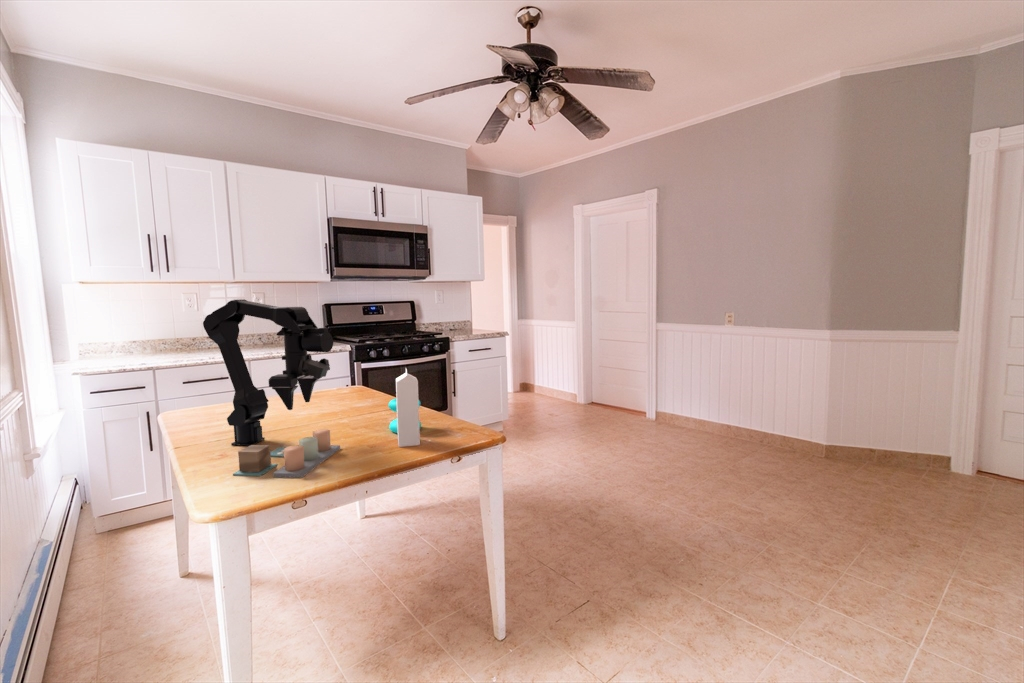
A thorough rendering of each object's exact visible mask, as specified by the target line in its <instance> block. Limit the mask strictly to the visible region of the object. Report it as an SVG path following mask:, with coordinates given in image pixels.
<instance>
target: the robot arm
mask: <svg viewBox="0 0 1024 683" xmlns="http://www.w3.org/2000/svg"><path fill="white" fill-rule="evenodd" d="M246 316H248V317H254V318H257V319H258V318H259V319H263V320H267V321H268V320H269V321H271V322H273V323H274V324H275V325H278V326H280V327H281V329H280V330H279V331H278V332H277V333H276V336H279V337H281V336H283V343H284V344H283V345H284V355H281V360H282V361H285V370H282V374H276V375H272V376H270V377H269V379H268V387H269V388H271V389H272V390H274V391H275V392H276V394H277V395H278V397H279V398H280V399H281V401H282V403H283V404H284V406H285V407H286V409H287V410H288V411H292V410H293V409H294V408H293V407H294V394H295V390H296V389H297V388H298V387H299V388H300V391H301V394H302V397H303V400H304V402H305V403H310V402H311V399H312V398H311V397H312V393H313V391H314V387H315V383H317V382H318V381H319V380H320V379H321V378H323V377H324V378H325V377H326V376H327V374H328V371H330V370H331V366H330V361H329V359H327V358H321V359H319V360H313V359H312V355H311V354H310V353H329V352H330V351H332V349H333V347H334V338H333V335H332V334H331V333H330V332H329V329H328V328H329V327H318V326H317V324H316V323H315V322H314V320H313V319H312V318H311V316H310V314H309V312H308V310H307V308H306V307H303V306H276V305H275V306H274V305H271V304H266V303H260V302H255V301H250V300H247V299H231V300H230V301H228V302H227V303H226V304H225V305H223V306H221V307H219V308H217V309H216V310H214V311H212V312H211V313H210V314H207V315H206V316H205V318H204V321H203V323H202V325H203V329H204V330H205V332H206V334H207V336H208V338H209V339H210V340H212V341H213V342H214V343H215V344H216V345H217V346H218V348H219V351H220V354H221V357H222V359H223V361H224V364H225V368H226V370H227V373H228V376H229V378H230V381H231V384H232V386H233V389H234V396H233V399H232V400H233V401H232V405H233V410H232V412H231V413H230V414H229V415H228V416H227V417H226V421H227V424H228V426H229V427H230V426H232V427H233V434H234V436H233V437H234V442H231V444H230V445H231V446H246V447H248V446H250V445H257V443H259V442H261V441H264V440H265V436H263V426H262V425H261V420H264V419H265V416H266V412H267V410H268V408H269V404H268V403H269V401H270V400H269V399H268V398H267V395H266V391H265V390H264V388H261V389H258V388H257V387H256V386H255V384H254V383H253V380H252V377H251V375H250V371H249V369H248V366H247V364H246V360H245V358H244V354H243V353H242V350H241V347H240V344H239V342H238V339H239V335H240V326H239V325H240V324H241V323H242V322H243V321H244V320H245V318H246ZM297 384H298V385H297Z"/></svg>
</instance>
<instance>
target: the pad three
mask: <svg viewBox="0 0 1024 683" xmlns="http://www.w3.org/2000/svg"><path fill="white" fill-rule="evenodd" d="M286 447H287V446H279V447H277V448H275V449H273V450H272V451H270V453H271V458H284V449H285V448H286Z"/></svg>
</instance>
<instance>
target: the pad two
mask: <svg viewBox="0 0 1024 683" xmlns="http://www.w3.org/2000/svg"><path fill="white" fill-rule="evenodd" d="M277 466H278V464H277V463H271V465H269V466H268V467H266V468H265V469H263V470H261V471H260V472H240V470H239V469H238V470H237V471H235V472H234V473H232V476H237V477H238V476H246V477H247V476H248V477H261V476H264V475H265V474H266V473H268V472H269V471H271V470H272V469H274V468H275V467H277Z"/></svg>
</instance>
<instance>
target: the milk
mask: <svg viewBox="0 0 1024 683" xmlns="http://www.w3.org/2000/svg"><path fill="white" fill-rule="evenodd" d="M395 392H396V393H395V396H396V398H395V399H396V403H397V412H396V419H397V432H398V433H397V444H398V448H401V447H412V446H413V447H414V446H420V445H421V444H420V443H421V442H420V441H421V438H420V434H421V432H420V429H419V421H420V411H419V410H420V407H419V400H420V399H419V380H418V378H417V377H416V376H414V375H413V374H410V373H408V369H407V368H405V372H404V373H403V374H401V375H400V376H398V377H396V378H395Z"/></svg>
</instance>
